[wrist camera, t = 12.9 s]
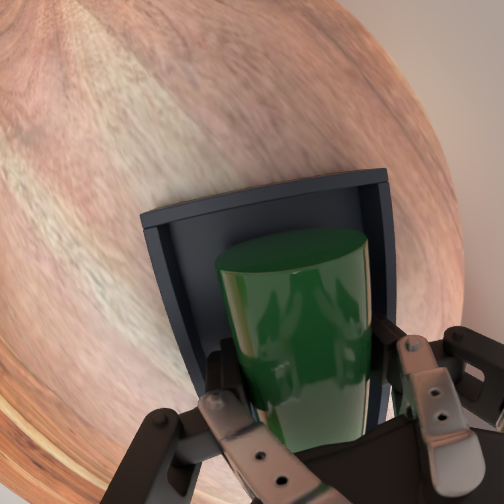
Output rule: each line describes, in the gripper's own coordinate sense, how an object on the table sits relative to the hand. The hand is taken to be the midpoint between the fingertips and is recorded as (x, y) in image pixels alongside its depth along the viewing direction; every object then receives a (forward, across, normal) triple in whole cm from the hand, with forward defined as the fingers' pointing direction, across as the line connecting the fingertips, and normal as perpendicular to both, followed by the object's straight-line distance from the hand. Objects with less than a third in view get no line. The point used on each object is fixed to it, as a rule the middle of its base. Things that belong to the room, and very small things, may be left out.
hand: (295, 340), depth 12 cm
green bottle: (+1, 0, +3) cm, 3 cm away
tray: (+2, 0, +3) cm, 3 cm away
